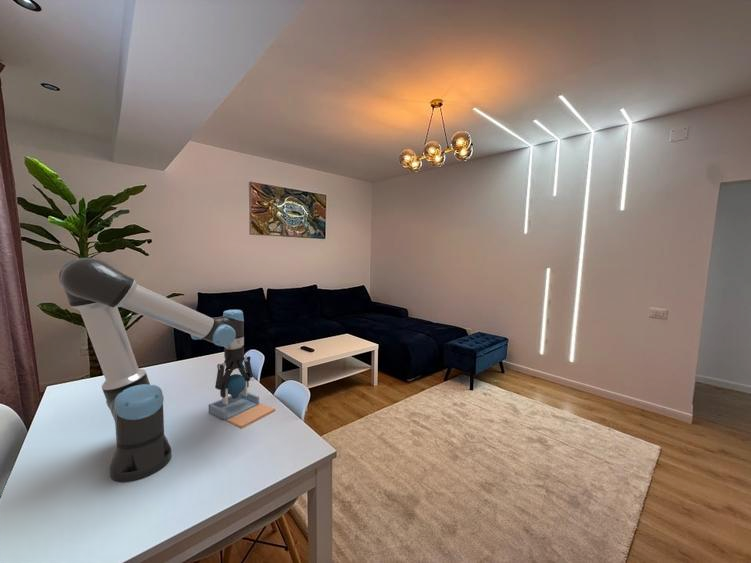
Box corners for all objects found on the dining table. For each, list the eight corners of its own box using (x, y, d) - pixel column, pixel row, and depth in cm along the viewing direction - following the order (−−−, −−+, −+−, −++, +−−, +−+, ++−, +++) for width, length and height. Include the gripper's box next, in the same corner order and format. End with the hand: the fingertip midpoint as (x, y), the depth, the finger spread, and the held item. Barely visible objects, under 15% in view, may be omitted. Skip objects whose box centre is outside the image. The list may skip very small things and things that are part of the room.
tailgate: (225, 422, 118) (241, 429, 113) (225, 419, 118) (241, 426, 113) (259, 405, 132) (275, 411, 126) (259, 402, 132) (275, 408, 126)
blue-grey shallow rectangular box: (224, 421, 118) (224, 412, 118) (208, 413, 124) (208, 404, 124) (259, 405, 132) (259, 396, 132) (243, 398, 138) (243, 390, 137)
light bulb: (240, 407, 123) (239, 379, 122) (220, 407, 123) (219, 378, 123) (249, 398, 132) (249, 371, 131) (230, 397, 132) (229, 370, 131)
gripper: (214, 355, 115) (216, 412, 117) (261, 342, 133) (262, 392, 135) (203, 351, 119) (205, 407, 120) (250, 339, 137) (251, 388, 138)
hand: (235, 399), depth 127 cm, fingers closed on light bulb, 8 cm apart
